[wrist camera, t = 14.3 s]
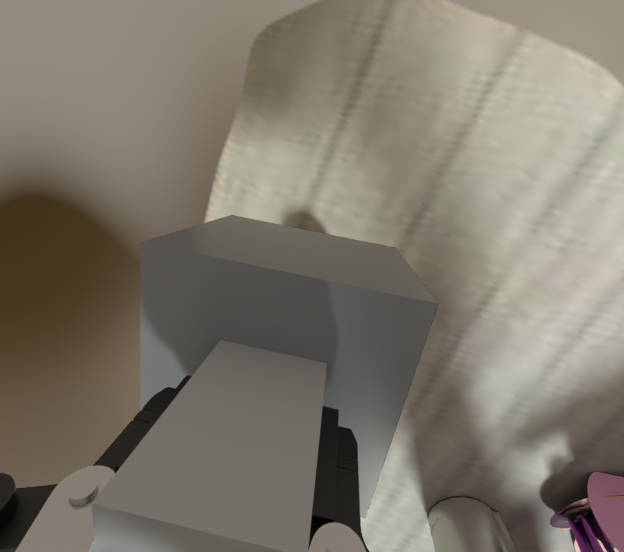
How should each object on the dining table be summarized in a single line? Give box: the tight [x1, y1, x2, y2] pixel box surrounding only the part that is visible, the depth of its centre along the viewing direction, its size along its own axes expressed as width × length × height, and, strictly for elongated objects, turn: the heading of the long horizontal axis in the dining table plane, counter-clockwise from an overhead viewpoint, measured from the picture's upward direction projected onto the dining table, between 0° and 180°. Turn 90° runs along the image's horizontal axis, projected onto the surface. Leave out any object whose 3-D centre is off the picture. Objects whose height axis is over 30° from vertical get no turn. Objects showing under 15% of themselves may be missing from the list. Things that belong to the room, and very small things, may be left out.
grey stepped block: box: [92, 215, 438, 552], centre depth 13 cm, size 10×10×15 cm
